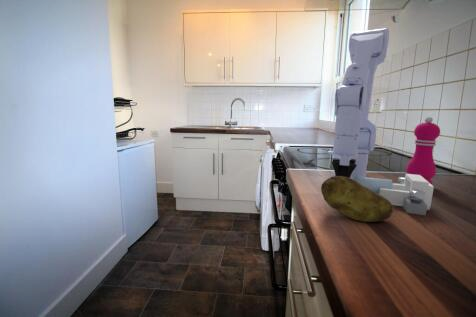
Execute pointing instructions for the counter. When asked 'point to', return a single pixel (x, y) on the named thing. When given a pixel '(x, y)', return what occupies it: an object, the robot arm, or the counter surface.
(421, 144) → the pepper mill
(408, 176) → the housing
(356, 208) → the potato
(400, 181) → the plunger left
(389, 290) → the counter surface
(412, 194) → the plunger right
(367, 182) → the cartridge
